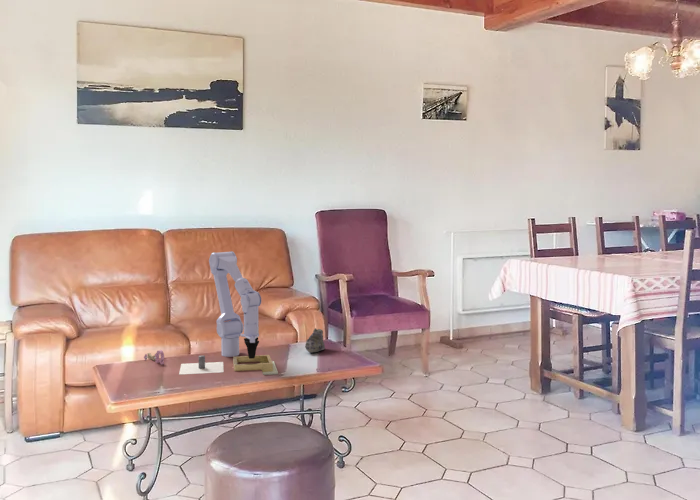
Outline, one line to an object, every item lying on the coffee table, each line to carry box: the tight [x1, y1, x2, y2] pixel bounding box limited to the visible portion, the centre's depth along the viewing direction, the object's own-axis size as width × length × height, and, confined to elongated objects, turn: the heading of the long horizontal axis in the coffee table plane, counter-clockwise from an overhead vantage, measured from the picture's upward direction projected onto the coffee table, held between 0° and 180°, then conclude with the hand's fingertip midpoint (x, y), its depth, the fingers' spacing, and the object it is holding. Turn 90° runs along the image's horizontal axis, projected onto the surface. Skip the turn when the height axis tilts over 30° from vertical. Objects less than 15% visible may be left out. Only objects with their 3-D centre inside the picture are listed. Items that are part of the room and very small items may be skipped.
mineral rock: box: [304, 328, 326, 353], centre depth 282 cm, size 13×11×10 cm
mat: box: [261, 360, 279, 376], centre depth 252 cm, size 18×18×1 cm
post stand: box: [178, 355, 224, 375], centre depth 248 cm, size 16×16×6 cm
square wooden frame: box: [232, 354, 273, 372], centre depth 252 cm, size 14×14×3 cm
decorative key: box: [143, 349, 165, 365], centre depth 261 cm, size 7×1×20 cm
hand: (251, 357), depth 258 cm, fingers open, 3 cm apart
